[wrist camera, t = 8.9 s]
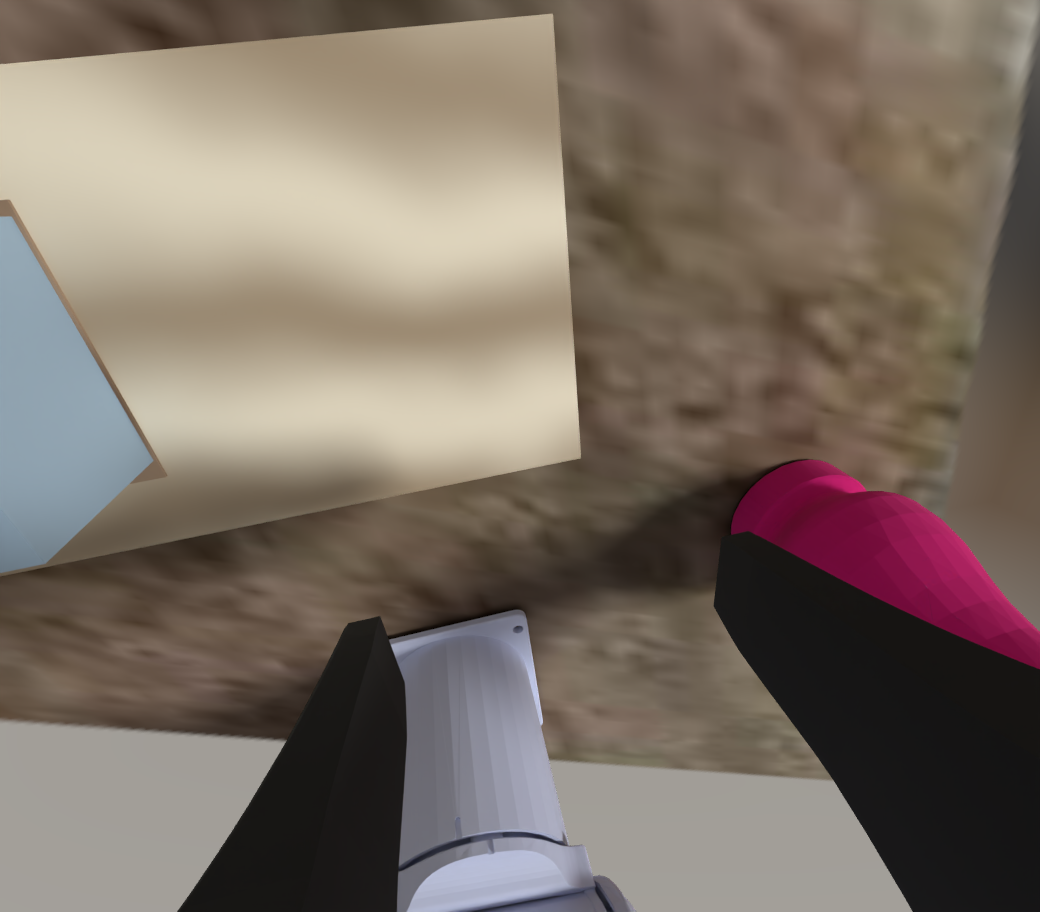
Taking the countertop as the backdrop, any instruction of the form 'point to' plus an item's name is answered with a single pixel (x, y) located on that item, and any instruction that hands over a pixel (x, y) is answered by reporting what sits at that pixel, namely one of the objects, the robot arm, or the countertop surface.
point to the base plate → (305, 263)
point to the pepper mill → (885, 552)
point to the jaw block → (52, 418)
